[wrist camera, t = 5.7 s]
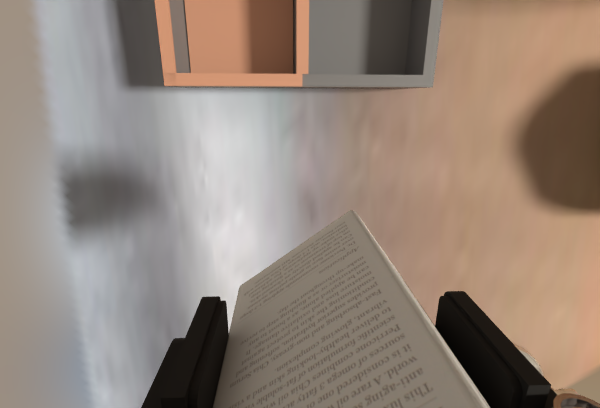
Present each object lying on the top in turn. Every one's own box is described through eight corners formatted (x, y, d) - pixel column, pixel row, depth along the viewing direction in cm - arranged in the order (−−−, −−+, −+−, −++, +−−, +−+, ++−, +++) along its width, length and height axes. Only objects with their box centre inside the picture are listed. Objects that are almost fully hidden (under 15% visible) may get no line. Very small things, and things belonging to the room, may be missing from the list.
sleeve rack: (425, -59, 24) (456, -92, 20) (410, 88, 27) (434, 87, 23) (168, -66, 23) (142, -102, 19) (183, 87, 26) (164, 85, 22)
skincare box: (296, 348, 16) (326, 1043, 4) (237, 283, 14) (55, 995, 3) (407, 277, 15) (841, 909, 3) (354, 203, 14) (738, 774, 2)
